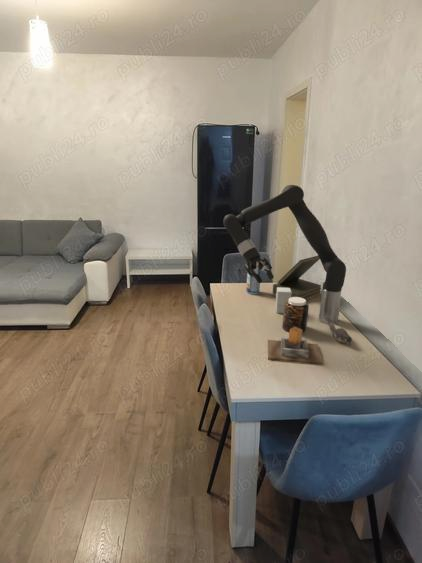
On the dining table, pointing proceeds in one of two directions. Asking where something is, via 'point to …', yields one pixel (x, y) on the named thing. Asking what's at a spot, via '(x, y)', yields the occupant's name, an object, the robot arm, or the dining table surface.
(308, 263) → the open hinged box
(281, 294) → the supplement box
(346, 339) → the decorative bird
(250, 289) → the beverage bottle
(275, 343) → the socket board
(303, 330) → the jar
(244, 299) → the dining table surface
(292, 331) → the orange rectangular block
